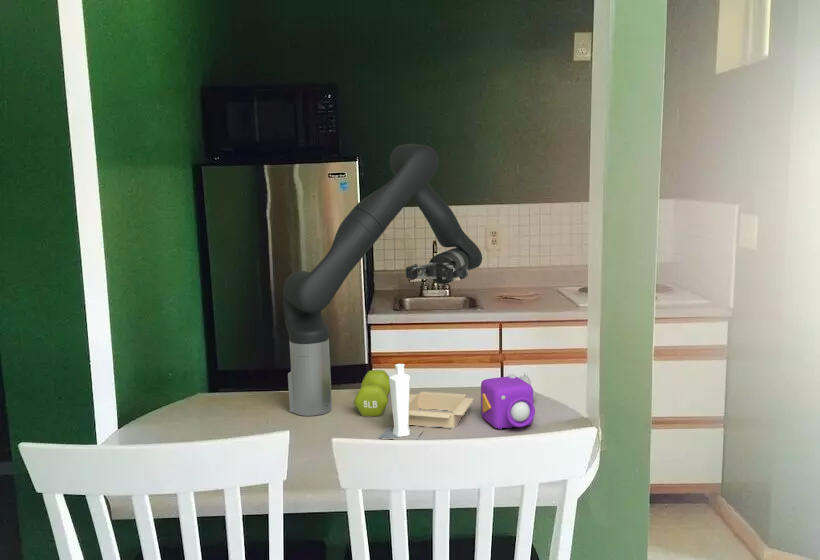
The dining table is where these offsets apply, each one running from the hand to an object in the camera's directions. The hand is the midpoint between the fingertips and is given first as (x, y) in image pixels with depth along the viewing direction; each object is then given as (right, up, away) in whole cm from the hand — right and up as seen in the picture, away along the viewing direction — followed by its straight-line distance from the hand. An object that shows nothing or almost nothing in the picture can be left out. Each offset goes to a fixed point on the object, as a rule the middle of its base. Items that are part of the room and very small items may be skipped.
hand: (429, 275), depth 161 cm
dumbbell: (-13, -32, +9) cm, 35 cm away
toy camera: (+18, -33, -6) cm, 38 cm away
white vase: (-6, -34, -11) cm, 36 cm away
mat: (-6, -34, -11) cm, 36 cm away
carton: (+1, -32, -1) cm, 32 cm away
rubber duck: (+23, -31, +8) cm, 39 cm away
